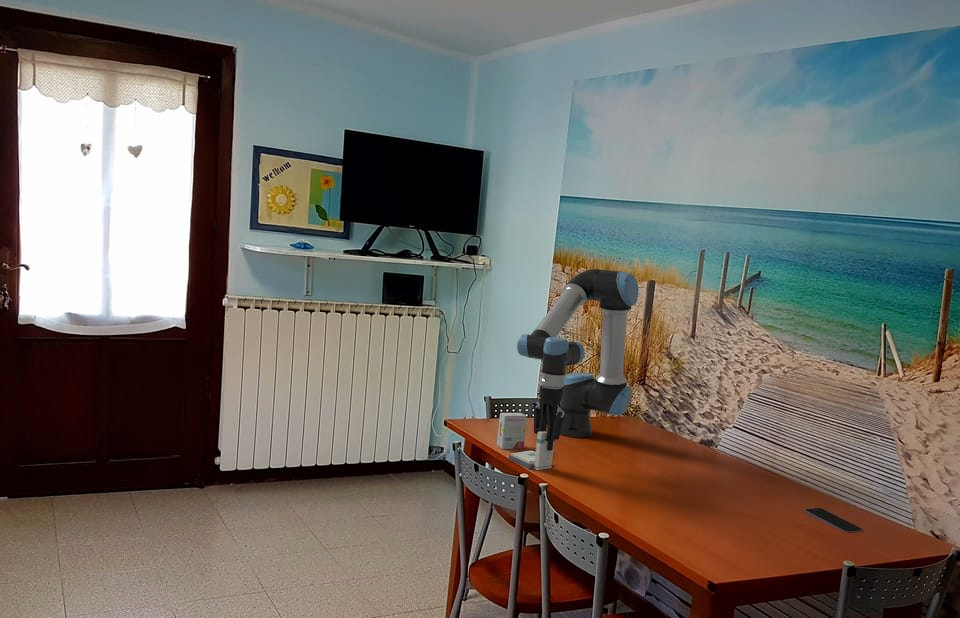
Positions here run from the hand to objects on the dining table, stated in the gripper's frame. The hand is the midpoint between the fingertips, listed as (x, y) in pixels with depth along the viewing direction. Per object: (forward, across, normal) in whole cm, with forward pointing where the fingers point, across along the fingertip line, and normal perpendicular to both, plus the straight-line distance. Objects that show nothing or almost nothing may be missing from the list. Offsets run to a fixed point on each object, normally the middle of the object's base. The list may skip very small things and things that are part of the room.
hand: (543, 458), depth 225 cm
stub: (+3, 0, 0) cm, 3 cm away
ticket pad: (+3, -6, 0) cm, 7 cm away
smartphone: (+4, +68, +52) cm, 86 cm away
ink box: (+4, -22, +5) cm, 23 cm away
